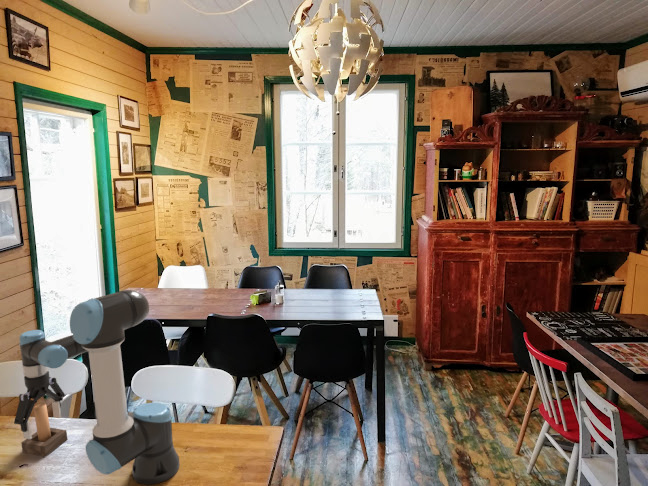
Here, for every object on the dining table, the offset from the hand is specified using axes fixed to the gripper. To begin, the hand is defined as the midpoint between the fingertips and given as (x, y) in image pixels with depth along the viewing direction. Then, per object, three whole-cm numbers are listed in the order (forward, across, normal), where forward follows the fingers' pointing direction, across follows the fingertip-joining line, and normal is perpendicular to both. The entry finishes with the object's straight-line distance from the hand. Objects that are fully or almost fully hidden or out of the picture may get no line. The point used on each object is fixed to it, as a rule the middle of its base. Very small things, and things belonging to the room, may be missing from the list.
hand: (43, 427), depth 167 cm
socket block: (+8, 0, 0) cm, 8 cm away
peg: (+8, 0, 0) cm, 8 cm away
